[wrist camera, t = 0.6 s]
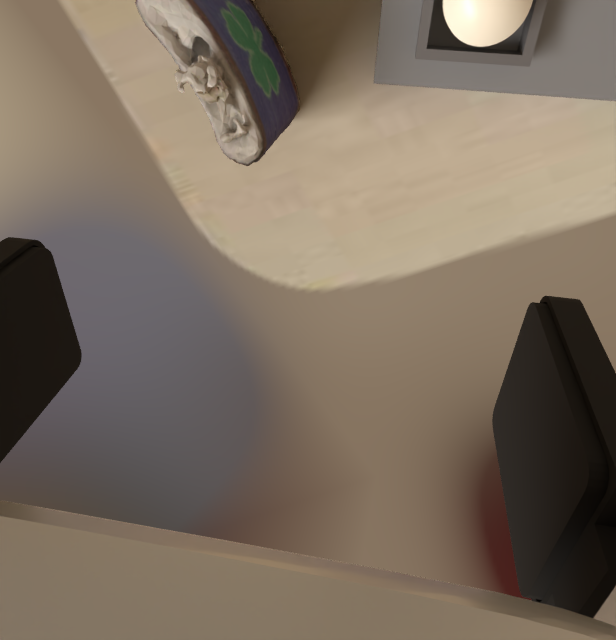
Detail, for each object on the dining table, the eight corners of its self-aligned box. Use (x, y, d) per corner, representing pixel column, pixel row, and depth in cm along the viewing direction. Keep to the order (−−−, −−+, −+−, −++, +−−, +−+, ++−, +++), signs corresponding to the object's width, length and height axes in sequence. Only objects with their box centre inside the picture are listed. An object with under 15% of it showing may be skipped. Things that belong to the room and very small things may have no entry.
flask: (192, -16, 30) (102, -6, 21) (232, -47, 29) (154, -49, 20) (274, 130, 34) (227, 189, 25) (312, 108, 33) (277, 162, 24)
